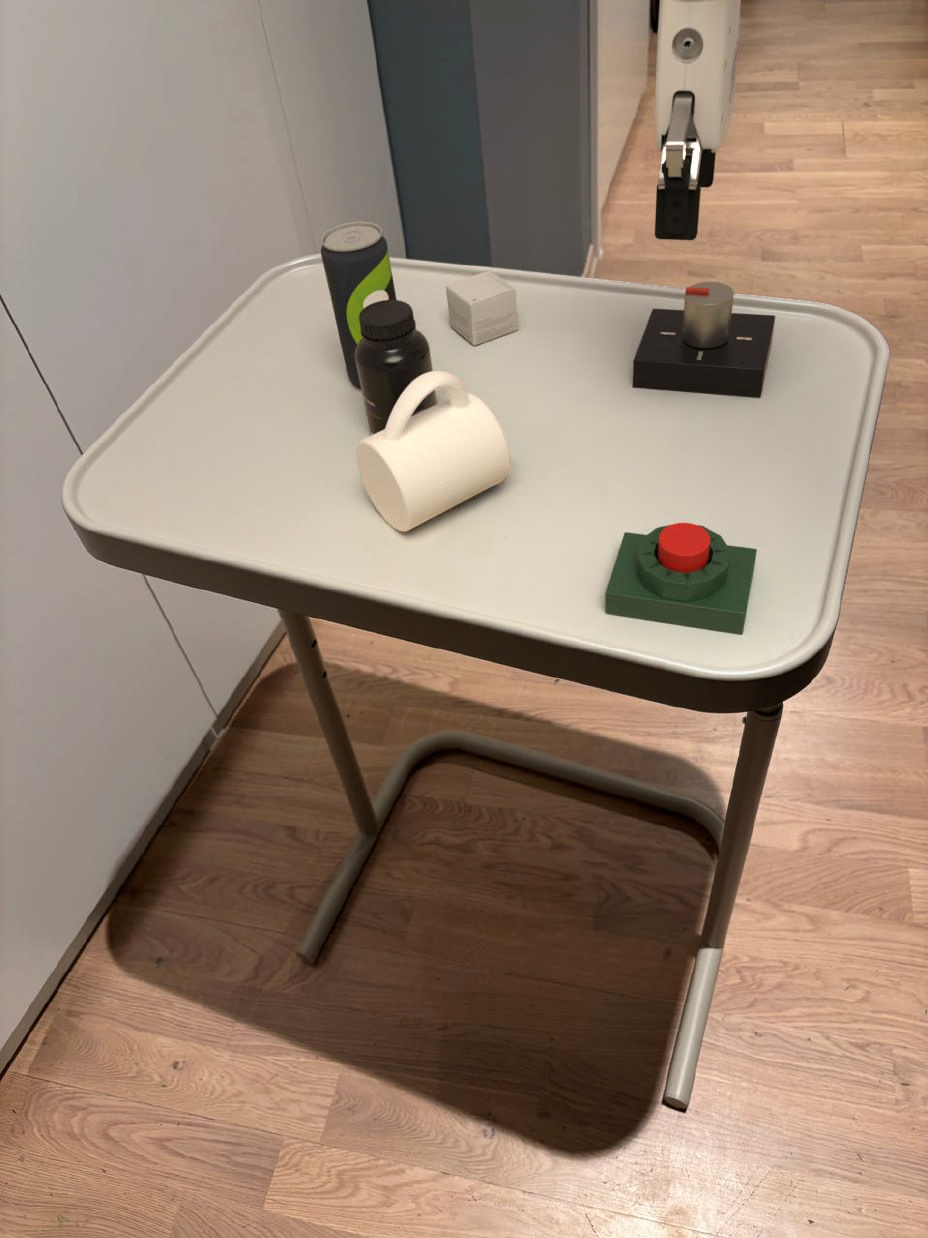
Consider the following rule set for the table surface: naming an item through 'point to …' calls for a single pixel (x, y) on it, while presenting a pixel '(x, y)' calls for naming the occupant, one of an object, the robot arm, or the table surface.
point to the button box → (681, 585)
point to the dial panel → (704, 356)
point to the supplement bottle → (390, 359)
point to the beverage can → (355, 280)
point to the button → (684, 547)
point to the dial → (707, 314)
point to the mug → (432, 453)
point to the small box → (482, 307)
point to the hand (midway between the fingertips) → (684, 210)
